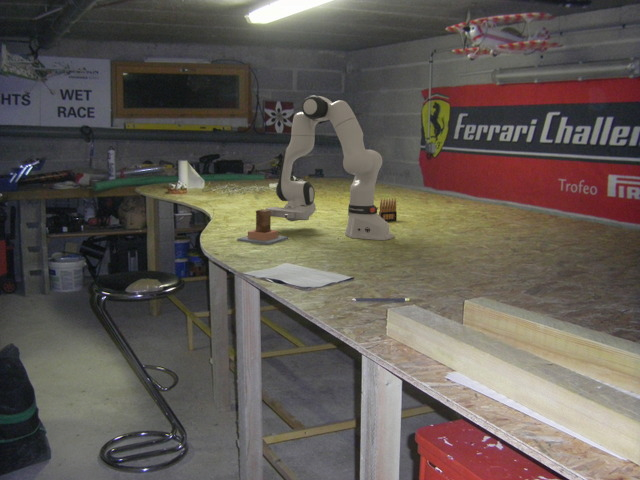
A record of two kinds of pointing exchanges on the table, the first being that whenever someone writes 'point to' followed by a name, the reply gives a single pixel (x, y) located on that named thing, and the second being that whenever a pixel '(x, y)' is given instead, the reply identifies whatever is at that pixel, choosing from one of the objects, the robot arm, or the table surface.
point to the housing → (263, 237)
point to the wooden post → (263, 221)
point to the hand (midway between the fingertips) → (277, 215)
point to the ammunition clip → (388, 210)
